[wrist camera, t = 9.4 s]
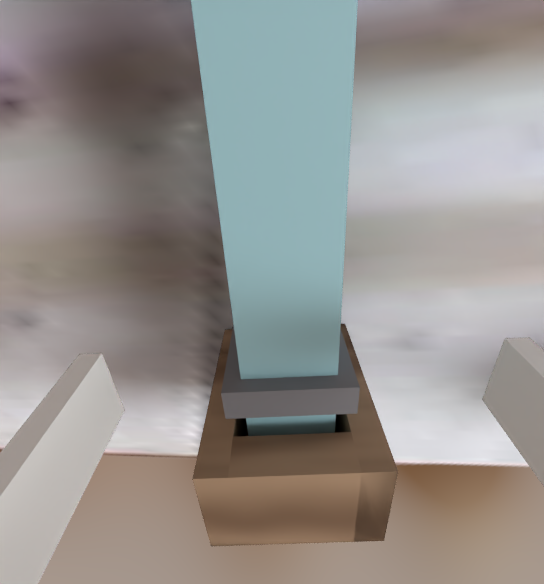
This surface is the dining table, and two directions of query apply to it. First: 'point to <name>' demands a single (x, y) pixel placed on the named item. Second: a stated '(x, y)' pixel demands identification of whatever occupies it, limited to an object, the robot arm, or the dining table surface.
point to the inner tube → (282, 202)
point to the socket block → (294, 476)
